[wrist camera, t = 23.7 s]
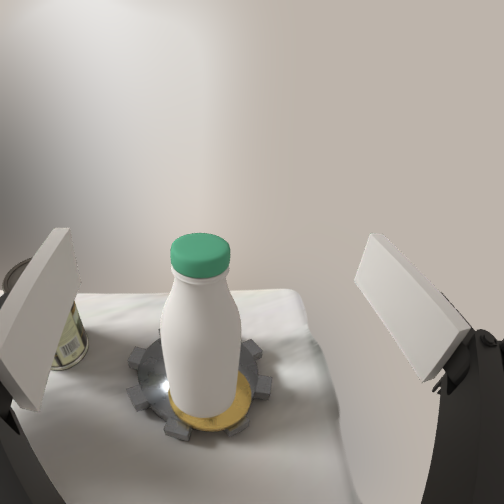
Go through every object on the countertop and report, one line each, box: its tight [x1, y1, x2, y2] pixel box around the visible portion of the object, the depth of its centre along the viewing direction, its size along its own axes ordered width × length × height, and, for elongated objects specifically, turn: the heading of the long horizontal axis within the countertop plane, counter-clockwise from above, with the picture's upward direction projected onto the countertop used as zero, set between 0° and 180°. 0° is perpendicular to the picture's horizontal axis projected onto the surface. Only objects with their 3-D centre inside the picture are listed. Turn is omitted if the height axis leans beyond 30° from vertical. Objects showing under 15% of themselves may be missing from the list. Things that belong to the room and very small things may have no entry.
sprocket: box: [126, 329, 272, 441], centre depth 34 cm, size 20×20×14 cm
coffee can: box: [2, 257, 89, 370], centre depth 35 cm, size 10×10×14 cm
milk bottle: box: [160, 233, 241, 418], centre depth 27 cm, size 8×8×20 cm
